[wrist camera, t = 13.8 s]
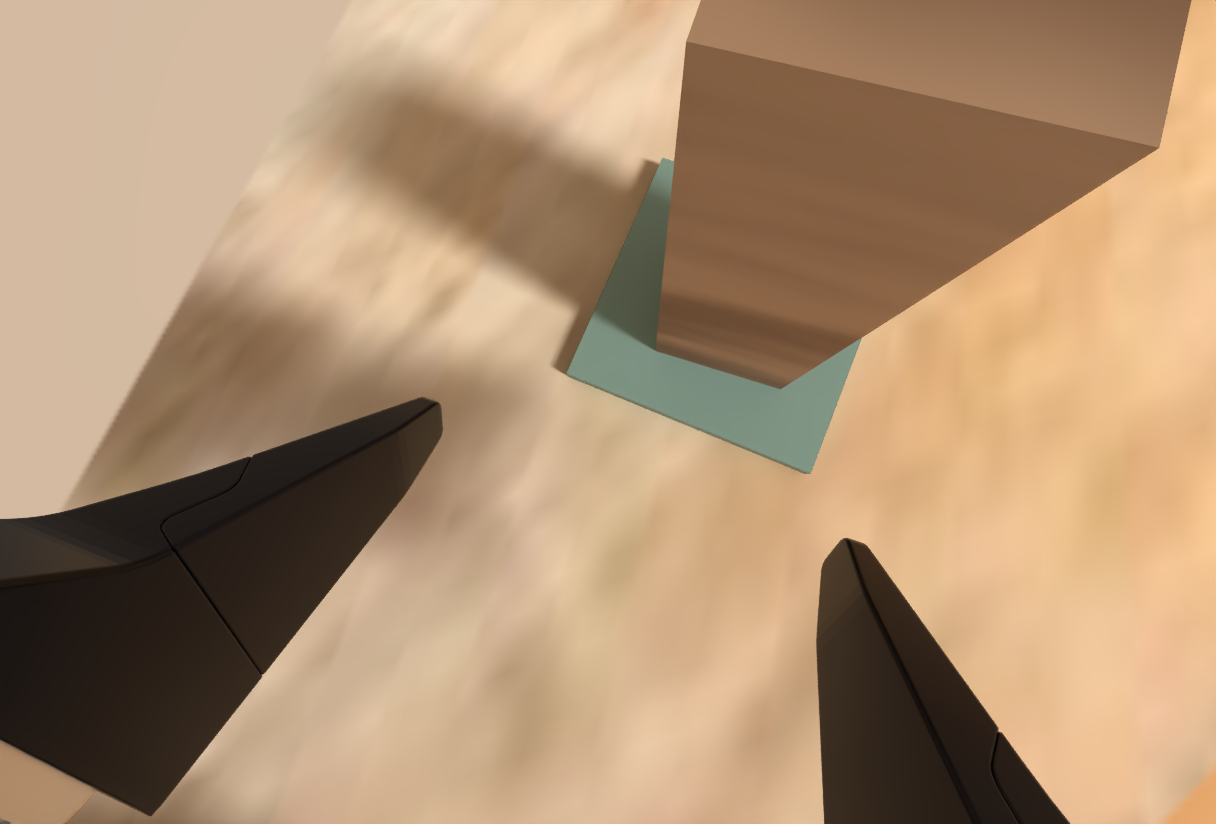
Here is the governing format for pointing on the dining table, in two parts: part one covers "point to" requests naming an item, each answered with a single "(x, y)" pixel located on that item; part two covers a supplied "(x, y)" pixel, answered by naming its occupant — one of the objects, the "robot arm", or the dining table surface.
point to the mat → (686, 390)
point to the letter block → (885, 156)
